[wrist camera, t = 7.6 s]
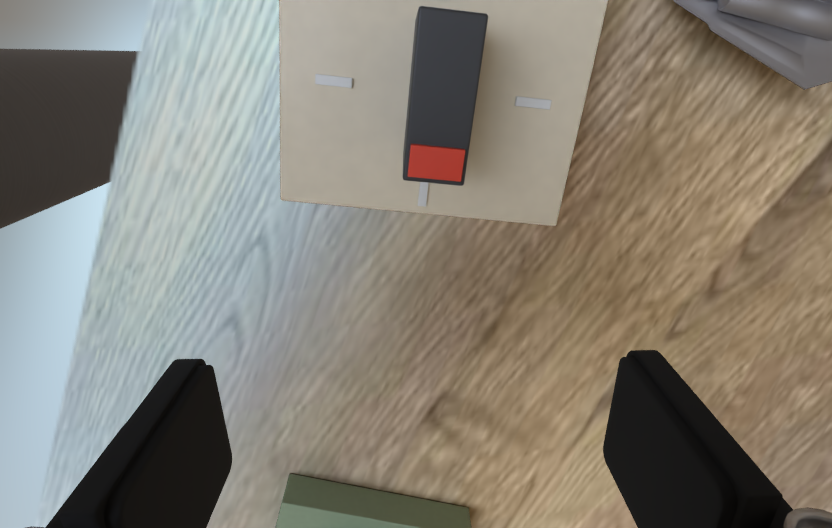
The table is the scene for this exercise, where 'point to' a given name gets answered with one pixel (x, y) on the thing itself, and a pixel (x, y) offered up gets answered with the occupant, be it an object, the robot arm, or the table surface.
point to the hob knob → (442, 94)
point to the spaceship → (775, 33)
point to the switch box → (361, 508)
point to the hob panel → (388, 99)
